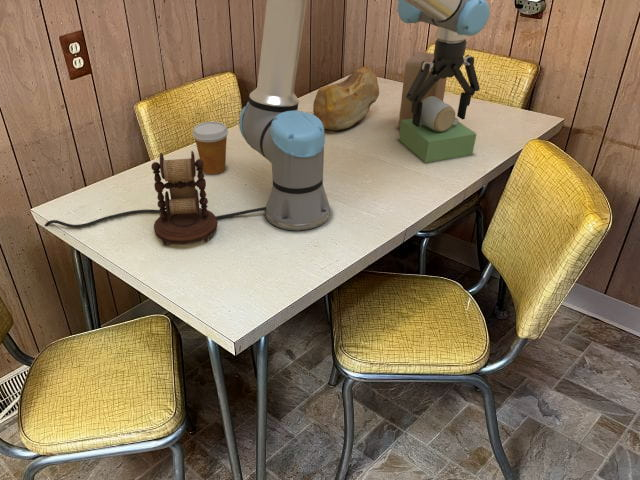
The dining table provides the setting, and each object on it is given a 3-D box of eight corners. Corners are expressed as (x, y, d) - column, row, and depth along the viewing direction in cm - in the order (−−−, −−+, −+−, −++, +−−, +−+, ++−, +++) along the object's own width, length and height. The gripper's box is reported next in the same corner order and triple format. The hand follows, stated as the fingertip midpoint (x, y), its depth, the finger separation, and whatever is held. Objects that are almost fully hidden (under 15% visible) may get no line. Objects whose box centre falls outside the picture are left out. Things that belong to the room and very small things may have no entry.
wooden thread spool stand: (218, 214, 143) (210, 136, 131) (217, 247, 132) (209, 166, 119) (158, 218, 144) (145, 141, 131) (152, 252, 132) (137, 170, 120)
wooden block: (440, 122, 178) (451, 54, 166) (429, 135, 172) (440, 64, 160) (408, 117, 183) (416, 50, 170) (396, 129, 177) (404, 60, 164)
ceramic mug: (433, 136, 157) (438, 107, 152) (413, 125, 163) (417, 98, 158) (464, 128, 160) (470, 100, 156) (444, 118, 166) (449, 91, 161)
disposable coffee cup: (238, 167, 163) (235, 126, 155) (213, 180, 158) (209, 138, 150) (213, 158, 168) (210, 118, 161) (189, 171, 163) (184, 129, 155)
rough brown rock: (347, 105, 196) (345, 58, 187) (385, 114, 185) (386, 64, 176) (295, 127, 186) (291, 79, 177) (333, 138, 175) (331, 87, 166)
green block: (425, 162, 158) (428, 141, 155) (398, 140, 171) (401, 120, 167) (472, 154, 161) (476, 133, 157) (442, 132, 173) (445, 112, 169)
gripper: (412, 49, 143) (402, 133, 156) (504, 36, 147) (487, 119, 160) (398, 41, 148) (390, 123, 162) (487, 29, 152) (471, 109, 166)
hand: (438, 121), depth 161 cm, fingers open, 13 cm apart
